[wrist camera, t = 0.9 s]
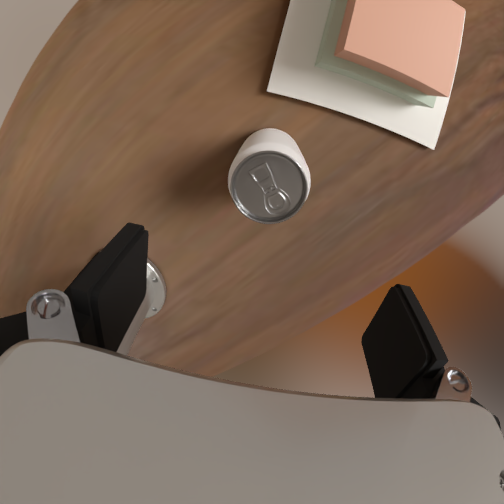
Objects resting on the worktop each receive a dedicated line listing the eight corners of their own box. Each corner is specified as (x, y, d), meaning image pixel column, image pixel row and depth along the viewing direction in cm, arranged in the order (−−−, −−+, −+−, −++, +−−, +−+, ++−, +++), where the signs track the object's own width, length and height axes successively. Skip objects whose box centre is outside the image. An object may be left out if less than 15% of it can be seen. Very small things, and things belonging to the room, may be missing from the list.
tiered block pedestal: (429, 147, 29) (471, 168, 21) (267, 91, 28) (265, 89, 20) (460, 12, 19) (504, 2, 11) (306, -54, 18) (315, -93, 10)
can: (258, 193, 34) (251, 242, 23) (229, 144, 31) (207, 171, 21) (309, 168, 32) (327, 207, 22) (282, 117, 29) (288, 129, 19)
